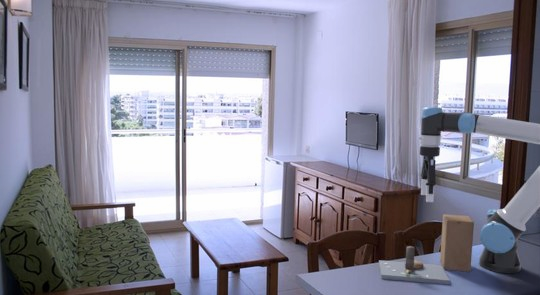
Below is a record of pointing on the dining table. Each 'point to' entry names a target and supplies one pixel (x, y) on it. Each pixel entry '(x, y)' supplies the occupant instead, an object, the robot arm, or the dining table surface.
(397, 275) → the board
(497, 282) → the dining table surface
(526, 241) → the dining table surface
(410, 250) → the dial
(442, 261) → the wooden block
